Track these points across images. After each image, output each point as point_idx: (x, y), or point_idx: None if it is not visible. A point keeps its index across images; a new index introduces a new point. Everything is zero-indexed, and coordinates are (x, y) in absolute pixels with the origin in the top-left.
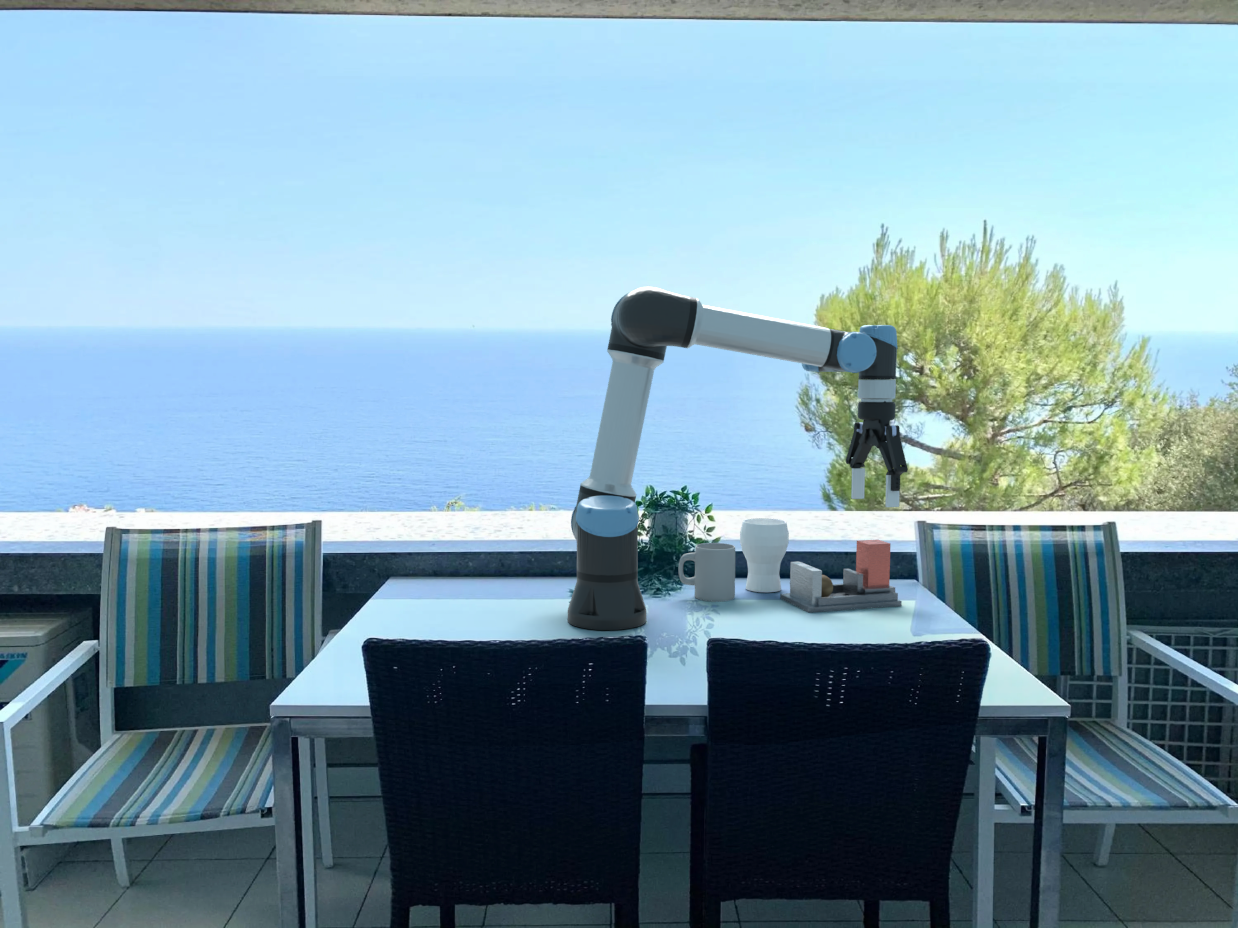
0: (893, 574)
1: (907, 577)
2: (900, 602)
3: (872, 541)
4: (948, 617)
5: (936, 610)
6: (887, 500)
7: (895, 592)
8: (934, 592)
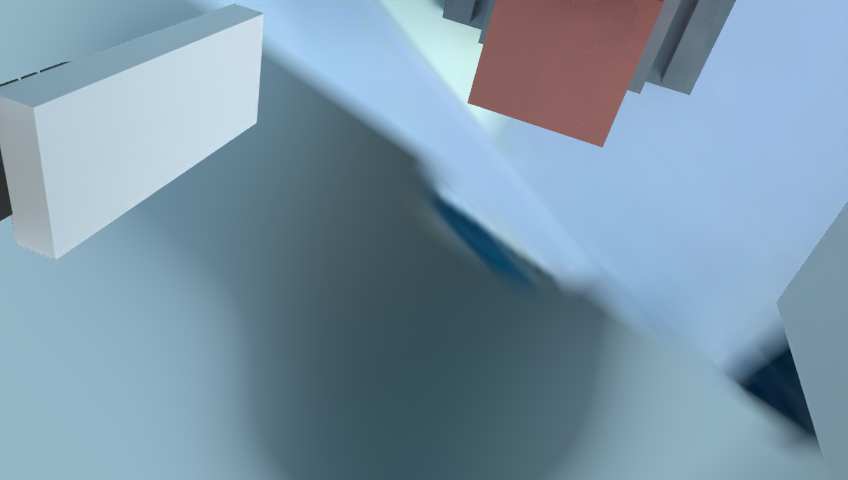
0: None
1: (749, 396)
2: (445, 11)
3: (573, 65)
4: None
5: (342, 66)
6: (199, 16)
7: (466, 21)
8: (531, 273)
